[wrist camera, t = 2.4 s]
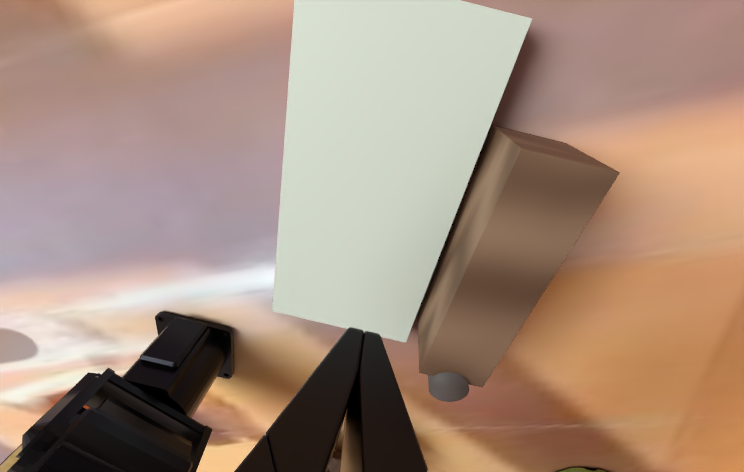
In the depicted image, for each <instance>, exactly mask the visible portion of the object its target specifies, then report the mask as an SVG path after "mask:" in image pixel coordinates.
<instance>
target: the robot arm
mask: <svg viewBox="0 0 744 472" xmlns="http://www.w3.org/2000/svg"><path fill="white" fill-rule="evenodd" d="M155 320H156V326H157V331H158V337H157V338H156V339H155V340H154V341H153V342H152V343H151V344H150V345H149V347H148V348H147V349H146V350H145V351H144V352H143V353H142V354H141V355H140V358H139V359H138V360H137V361H136V362H135V363H134V365H133V366H132V367H131V368H130V369H129V370H128V371H127V372H126V373H125V375H124V376H123V377H120V376H118V375H117V374H115V371H113V370H111V369H110V368H107V370H106V371H105V372H104V373H103V374H102V375H101V374H99V373H98V374H96V373H88V374H87V375H85V376H84V377H83V378H82V379H81V380H80V381H79V382H78V383H77V384H76V385H75V386H74V387H73V388H72V389H71V390H70V391H69V392H68V393H67V394H66V395H65V396H64V397H63V398H62V399H61V400H60V401H58V402H57V403H56V404H55V405H54V406H53V407H52V408H51V409H50V410H49V411H48V412H47V413H46V414H45V415H43V416H42V417H41V418H40V419H39V420H38V421H37V422H36V423H35V424H34V425H33V426H32V427H31V428H30V429H29V430H28V431H27V432H26V433H25V434H24V435H23V438H22V451H21V452H20V453H19V454H18V455H17V456H16V457H17V458H19V459H18V461H17V462H16V463H15V464H14V465H13V466H12V467H11V468H10V469H9V470H8V471H7V472H196V470H197V468H198V465H199V462H200V460H201V457H202V455H203V452H204V450H205V447H206V445H207V442H208V439H209V437H210V434H211V432H212V428H210V427H208V426H207V425H206V426H204V425H202V424H200V423H199V422H197V421H195V420H193V419H192V416H193V415H194V413H195V411H196V410H197V408H198V407H199V405H200V403H201V402H202V400H203V398H204V397H205V395H206V393H207V392H208V390H209V388H210V387H211V385H212V384H213V382H214V380H215V379H216V377H217V376H218V377H223V378H227V379H229V378H231V377H232V375H233V373H234V354H233V330H232V329H231V328H229V327H226V326H222V325H217V324H213V323H209V322H205V321H200V320H196V319H192V318H188V317H183V316H179V315H175V314H171V313H167V312H159V313H158V314H157V315H156V316H155ZM84 405H86V406H88V407H90V408H89V409H85V408H83V406H84ZM345 414H346V416H345ZM344 417H345V424H344V435H343V446H342V458H341V469H340V472H427V470H428V468H427V465H426V463H425V460H424V457H423V454H422V451H421V449H420V446H419V443H418V440H417V437H416V434H415V432H414V429H413V426H412V423H411V420H410V418H409V415H408V412H407V409H406V406H405V403H404V401H403V398H402V395H401V392H400V389H399V387H398V384H397V381H396V378H395V375H394V372H393V370H392V367H391V364H390V361H389V358H388V356H387V353H386V350H385V347H384V344H383V341H382V339H381V336H380V335H379V334H378V333H374V332H370V331H365V332H364V331H363V330H361V329H357V328H353V327H349V328H348V329H347V330H346V331H345V333H344V334H343V335H342V336H341V338H340V339H339V340H338V342H337V343H336V344H335V345H334V347H333V348H332V349H331V350H330V352H329V353H328V354H327V356H326V357H325V358H324V359H323V361H322V362H321V363H320V364H319V366H318V367H317V368H316V370H315V371H314V372H313V373H312V375H311V376H310V377H309V378H308V380H307V381H306V382H305V384H304V385H303V386H302V387H301V389H300V390H299V391H298V393H297V394H296V395H295V396H294V398H293V399H292V400H291V401H290V403H289V404H288V405H287V407H286V408H285V409H284V410H283V412H282V413H281V414H280V415H279V417H278V418H277V419H276V421H275V422H274V423H273V424H272V426H271V427H270V428H269V429H268V431H267V432H266V435H264V436H263V437H262V438H261V439H260V441H259V442H258V443H257V444H256V446H255V447H254V448H253V450H252V451H251V452H250V453H249V454H248V456H247V457H246V458H245V459H244V460H243V462H242V463H241V464H240V465H239V466H238V468H237V469H236V470H235V471H234V472H327V470H328V467H329V464H330V461H331V458H332V455H333V452H334V449H335V446H336V442H337V439H338V436H339V433H340V430H341V427H342V424H343V420H344Z"/></svg>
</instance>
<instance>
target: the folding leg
mask: <svg viewBox="0 0 744 472" xmlns="http://www.w3.org/2000/svg"><path fill="white" fill-rule="evenodd" d="M618 175H619V172H618V171H616V170H614V169H612V168H610V167H608V166H607V165H605V164H603V163H601V162H599V161H597V160H596V159H594V158H592V157H590V156H588V155H586V154H585V153H583V152H581V151H579V150H577V149H575V148H573V147H572V146H570V145H568V144H566V143H563V142H559V141H555V140H551V139H547V138H543V137H539V136H535V135H531V134H526V133H522V132H518V131H514V130H510V129H506V128H502V127H498V126H494V125H492V128H491V130H490V133H489V135H488V138H487V140H486V143H485V145H484V148H483V150H482V153H481V155H480V158H479V161H478V163H477V166H476V168H475V171H474V173H473V176H472V178H471V181H470V183H469V186H468V189H467V191H466V194H465V196H464V199H463V201H462V204H461V206H460V209H459V211H458V214H457V216H456V219H455V222H454V224H453V227H452V229H451V232H450V234H449V237H448V239H447V242H446V244H445V247H444V249H443V252H442V255H441V257H440V260H439V262H438V265H437V267H436V270H435V272H434V275H433V277H432V280H431V283H430V285H429V288H428V290H427V293H426V295H425V298H424V300H423V303H422V305H421V308H420V310H419V313H418V344H419V373H423V374H427V375H428V381H429V392H430V393H431V395H432V396H433V397H435V398H436V399H438V400H441V401H447V402H452V401H458V400H461V399H463V398H464V397H466V396H467V394H468V392H469V386H468V384H470V385H474V386H478V387H482V388H483V386H484V385H485V383H486V381H487V380H488V378H489V377H490V375H491V374H492V372H493V370H494V369H495V367H496V366H497V364H498V363H499V361H500V359H501V358H502V356H503V355H504V353H505V352H506V350H507V349H508V347H509V345H510V344H511V342H512V341H513V339H514V338H515V336H516V334H517V333H518V331H519V330H520V328H521V327H522V325H523V323H524V322H525V320H526V319H527V317H528V316H529V314H530V313H531V311H532V309H533V308H534V306H535V305H536V303H537V302H538V300H539V298H540V297H541V295H542V294H543V292H544V291H545V289H546V287H547V286H548V284H549V283H550V281H551V280H552V278H553V277H554V275H555V273H556V272H557V270H558V269H559V267H560V266H561V264H562V262H563V261H564V259H565V258H566V256H567V255H568V253H569V252H570V250H571V248H572V247H573V245H574V244H575V242H576V241H577V239H578V237H579V236H580V234H581V233H582V231H583V230H584V228H585V226H586V225H587V223H588V222H589V220H590V219H591V217H592V216H593V214H594V212H595V211H596V209H597V208H598V206H599V205H600V203H601V201H602V200H603V198H604V197H605V195H606V194H607V192H608V190H609V189H610V187H611V186H612V184H613V183H614V181H615V180H616V178H617V176H618Z"/></svg>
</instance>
